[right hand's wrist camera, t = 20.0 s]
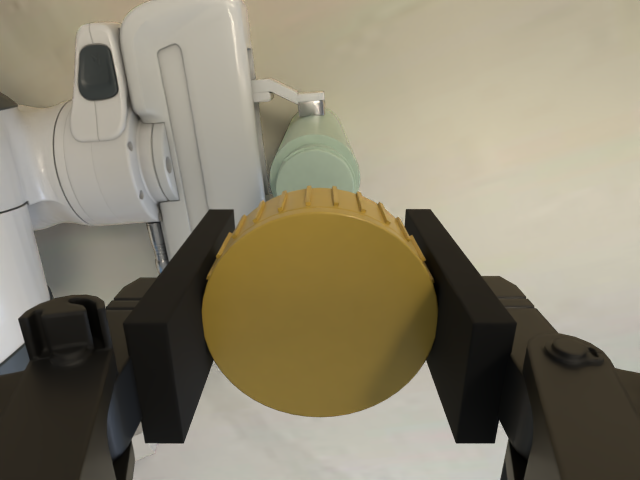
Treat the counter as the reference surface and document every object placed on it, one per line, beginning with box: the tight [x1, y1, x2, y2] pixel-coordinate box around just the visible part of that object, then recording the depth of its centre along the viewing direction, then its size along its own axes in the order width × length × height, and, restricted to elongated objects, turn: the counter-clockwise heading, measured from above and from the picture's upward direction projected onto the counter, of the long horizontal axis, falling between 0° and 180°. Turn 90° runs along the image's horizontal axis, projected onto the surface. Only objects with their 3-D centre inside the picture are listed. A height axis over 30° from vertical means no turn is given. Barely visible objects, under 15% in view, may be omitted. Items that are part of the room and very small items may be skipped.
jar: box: [270, 108, 360, 198], centre depth 29 cm, size 5×5×17 cm
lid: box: [202, 186, 438, 417], centre depth 11 cm, size 6×6×2 cm
